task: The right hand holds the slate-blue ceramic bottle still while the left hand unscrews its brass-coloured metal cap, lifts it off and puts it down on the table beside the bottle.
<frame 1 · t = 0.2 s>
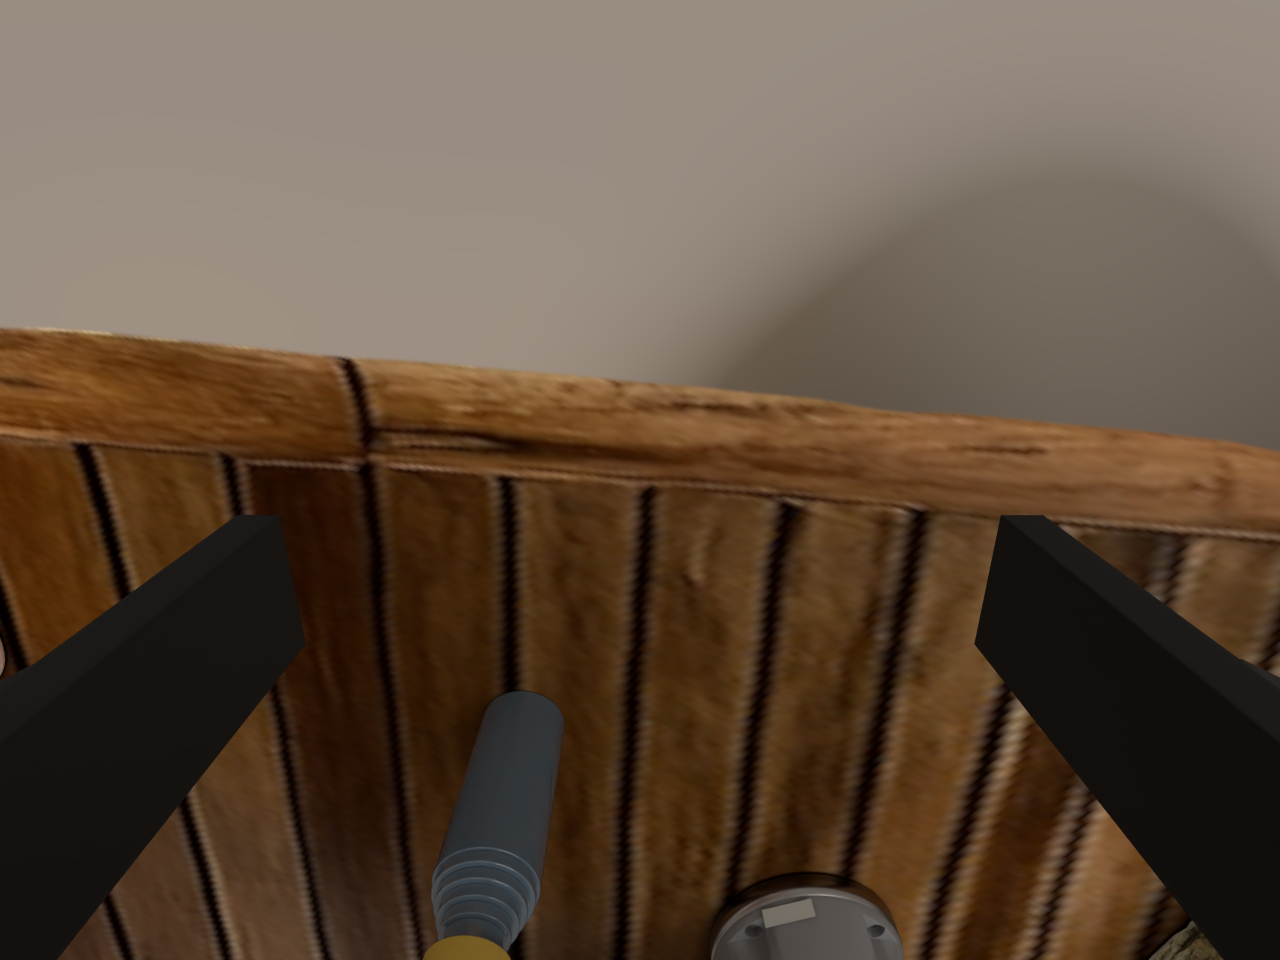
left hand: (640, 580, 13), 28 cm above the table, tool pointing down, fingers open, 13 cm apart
fossil: (1202, 945, 57), on the table
bottle: (523, 724, 49), on the table
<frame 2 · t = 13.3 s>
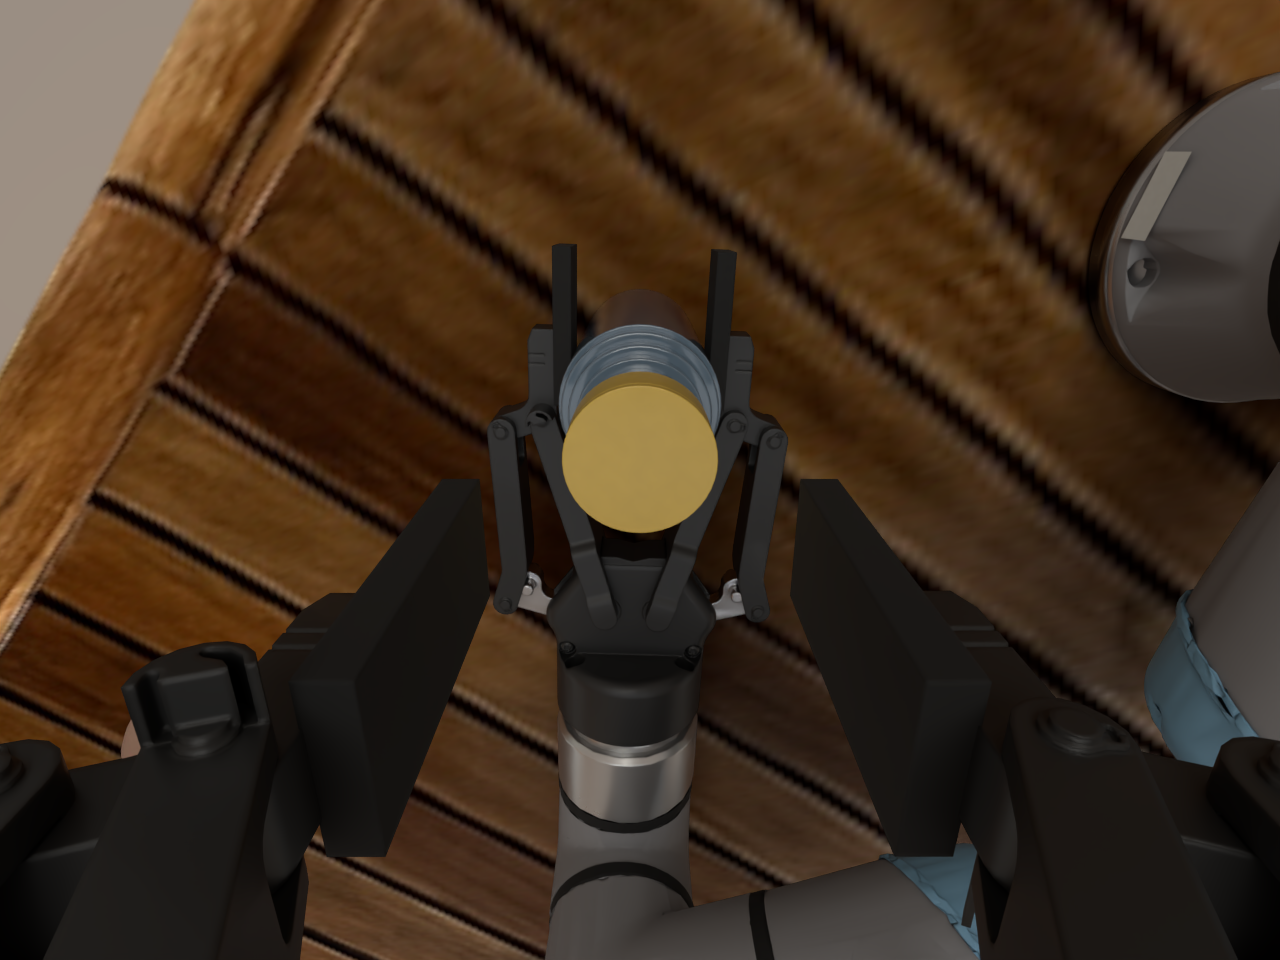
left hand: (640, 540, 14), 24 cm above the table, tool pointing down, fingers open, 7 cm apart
right hand: (644, 248, 28), fingers closed on bottle, 6 cm apart
bottle: (639, 345, 36), on the table, touching right hand
cap: (640, 459, 19), point 18 cm above the table, screwed on, not yet turned
anatomical model: (214, 771, 47), on the table
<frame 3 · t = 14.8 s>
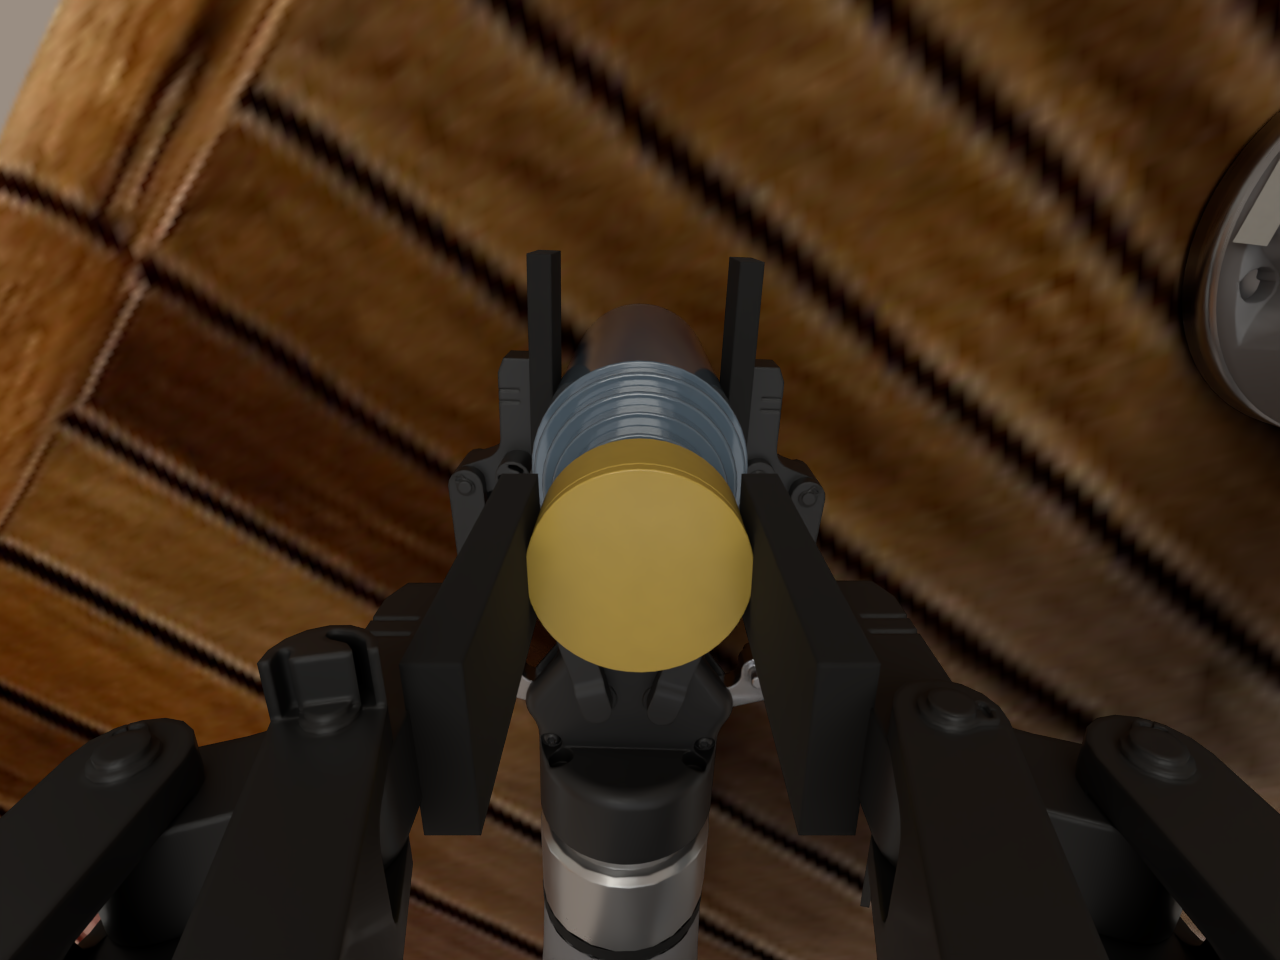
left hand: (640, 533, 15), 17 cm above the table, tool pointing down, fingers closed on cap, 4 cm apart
right hand: (645, 257, 22), fingers closed on bottle, 6 cm apart
bottle: (639, 371, 30), on the table, touching right hand
cap: (639, 569, 13), point 18 cm above the table, screwed on, not yet turned, touching left hand
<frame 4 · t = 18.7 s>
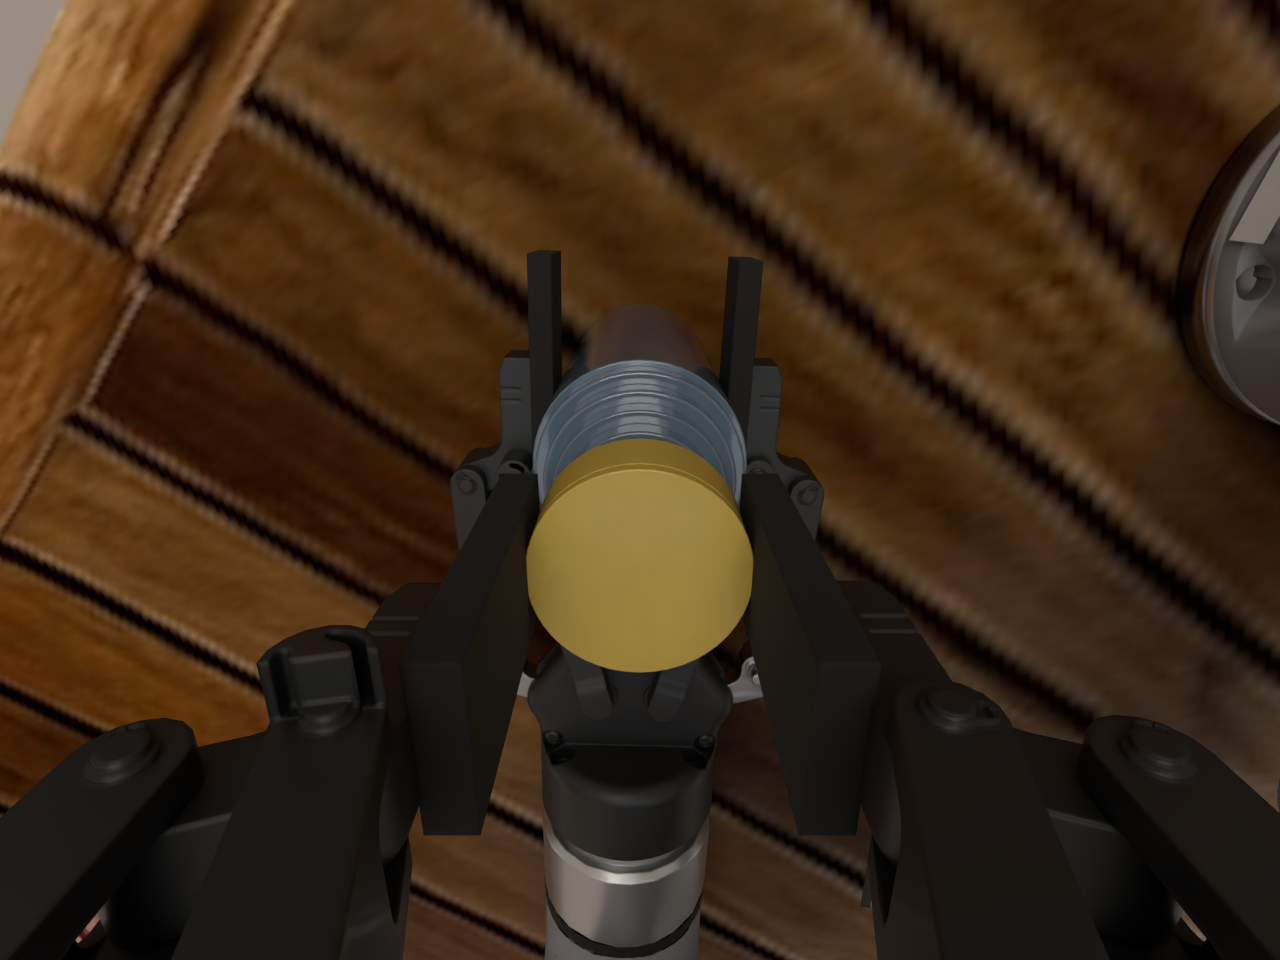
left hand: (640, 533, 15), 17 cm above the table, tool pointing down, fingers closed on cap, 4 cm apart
right hand: (644, 256, 22), fingers closed on bottle, 6 cm apart
bottle: (639, 370, 30), on the table, touching right hand
cap: (639, 569, 13), point 19 cm above the table, turned 142° so far, risen 0.2 cm, still on its thread, touching left hand
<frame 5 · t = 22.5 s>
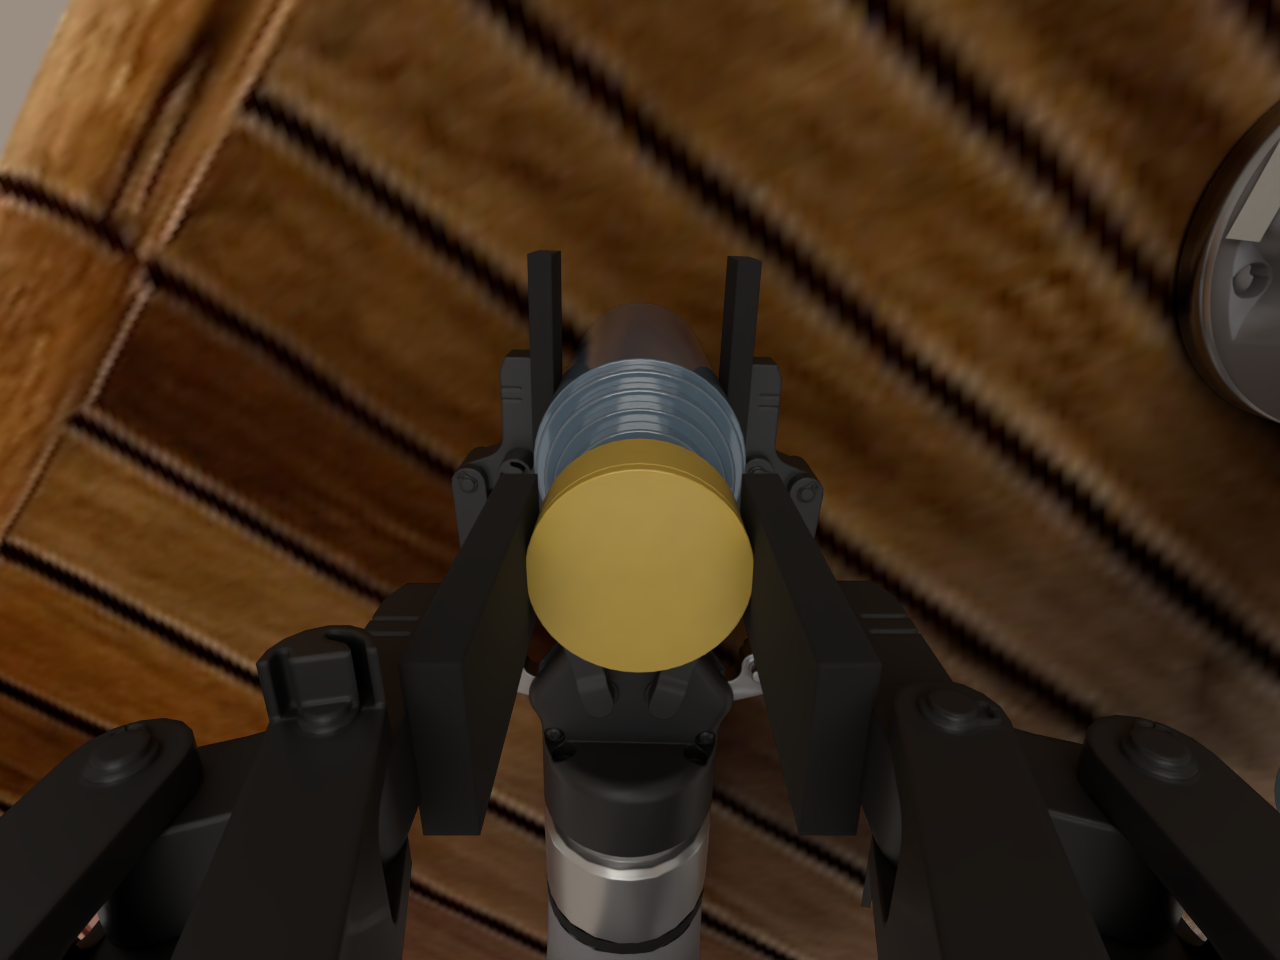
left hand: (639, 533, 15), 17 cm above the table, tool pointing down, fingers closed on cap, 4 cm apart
right hand: (644, 256, 23), fingers closed on bottle, 6 cm apart
bottle: (639, 369, 31), on the table, touching right hand
cap: (639, 569, 13), point 19 cm above the table, turned 283° so far, risen 0.3 cm, still on its thread, touching left hand
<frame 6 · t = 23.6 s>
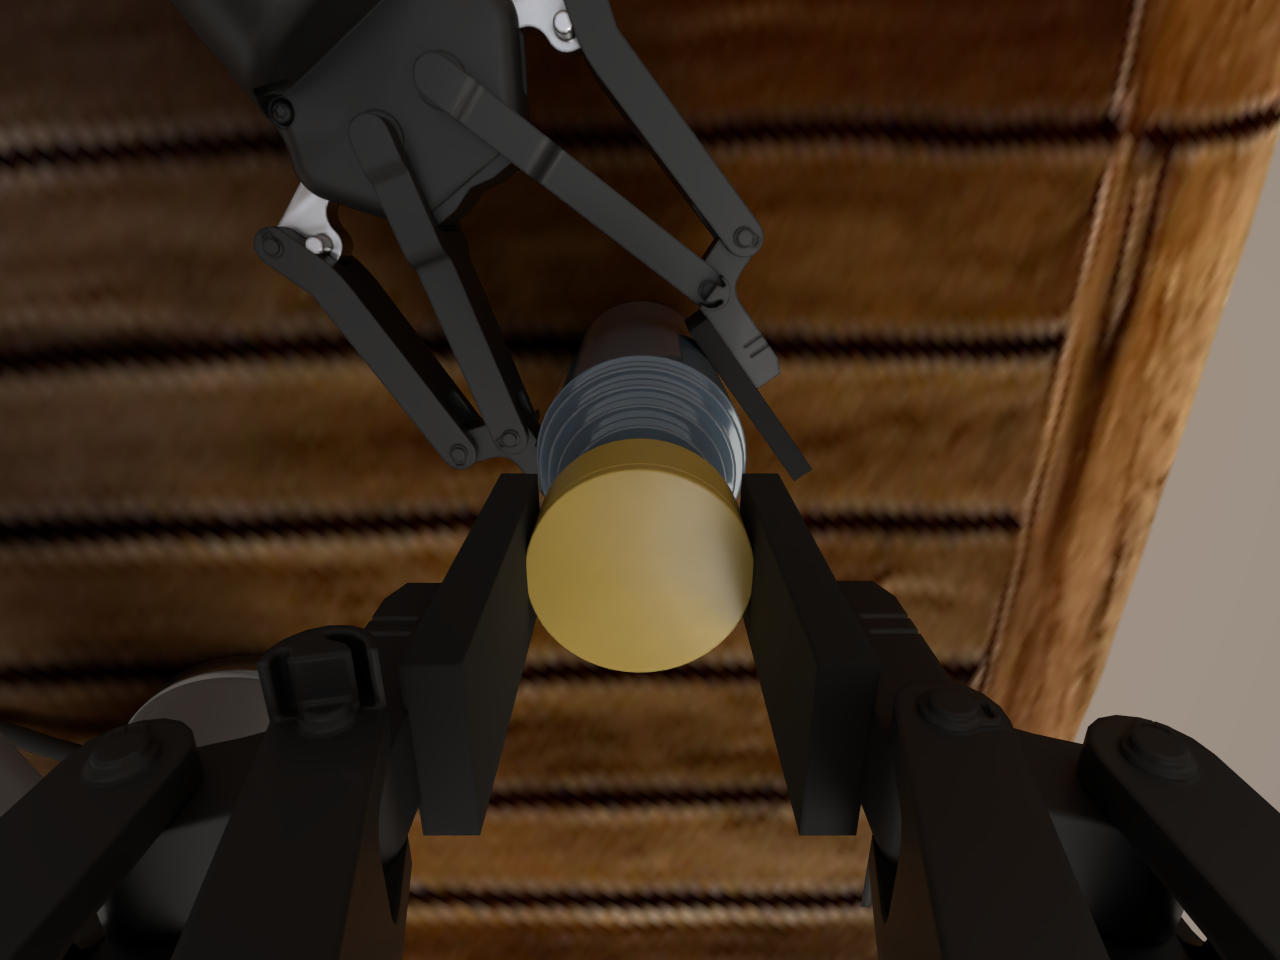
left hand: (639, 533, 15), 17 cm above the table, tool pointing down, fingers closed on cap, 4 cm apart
right hand: (721, 509, 26), fingers closed on bottle, 6 cm apart
bottle: (641, 367, 31), on the table, touching right hand
cap: (639, 569, 13), point 19 cm above the table, off its thread, touching left hand
when the left hand's fingers open (1 cm above the table, at t = 29.4 s): cap drops 1 cm, point 2 cm above the table.
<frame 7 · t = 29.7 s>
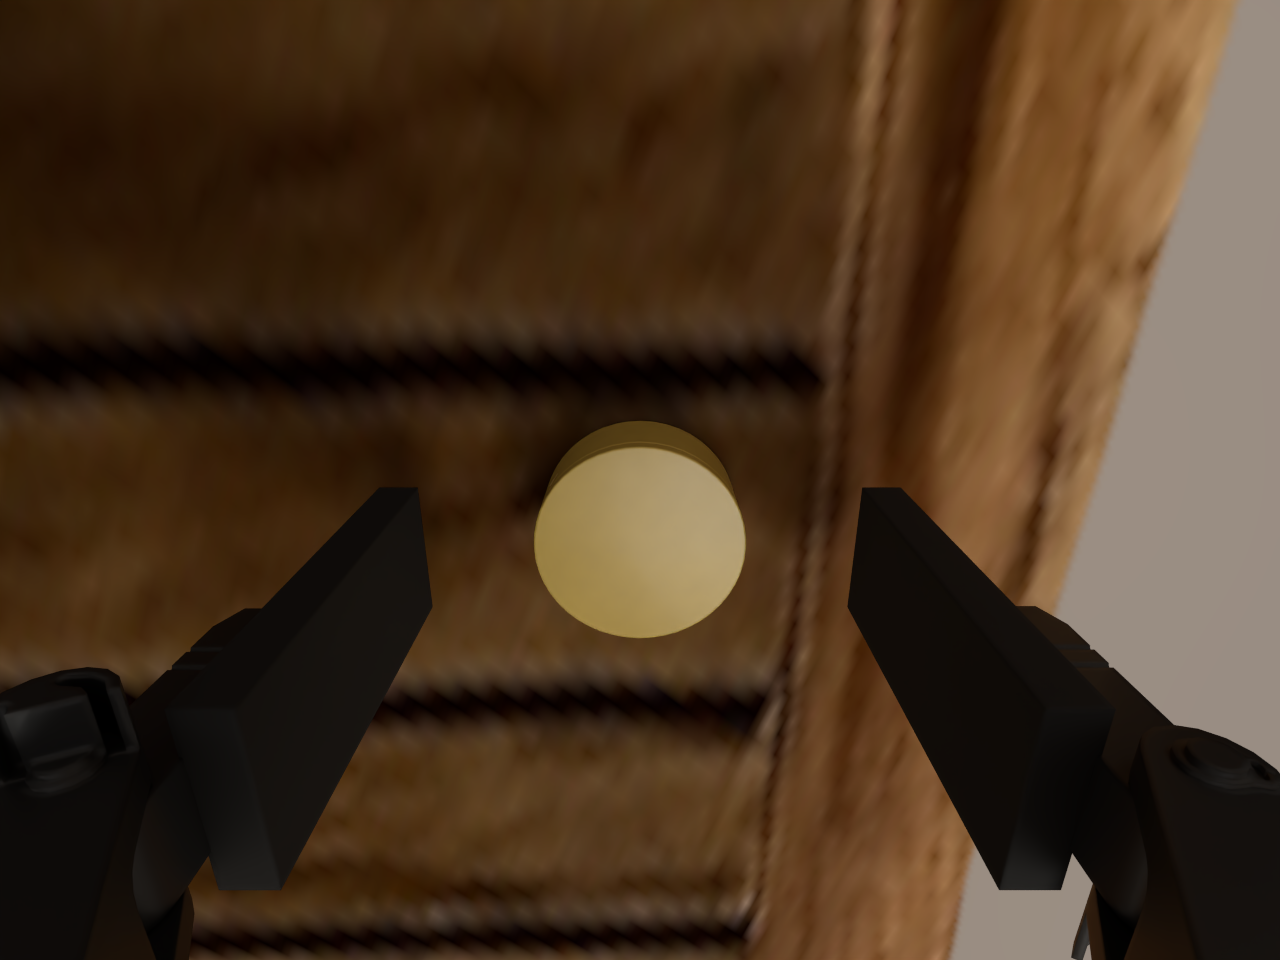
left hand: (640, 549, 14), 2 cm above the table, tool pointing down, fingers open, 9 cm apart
cap: (639, 541, 14), point 2 cm above the table, off its thread
when the right hand's fingers open (7 cm above the table, at t = 30.6 s): bottle stays where it is, on the table.
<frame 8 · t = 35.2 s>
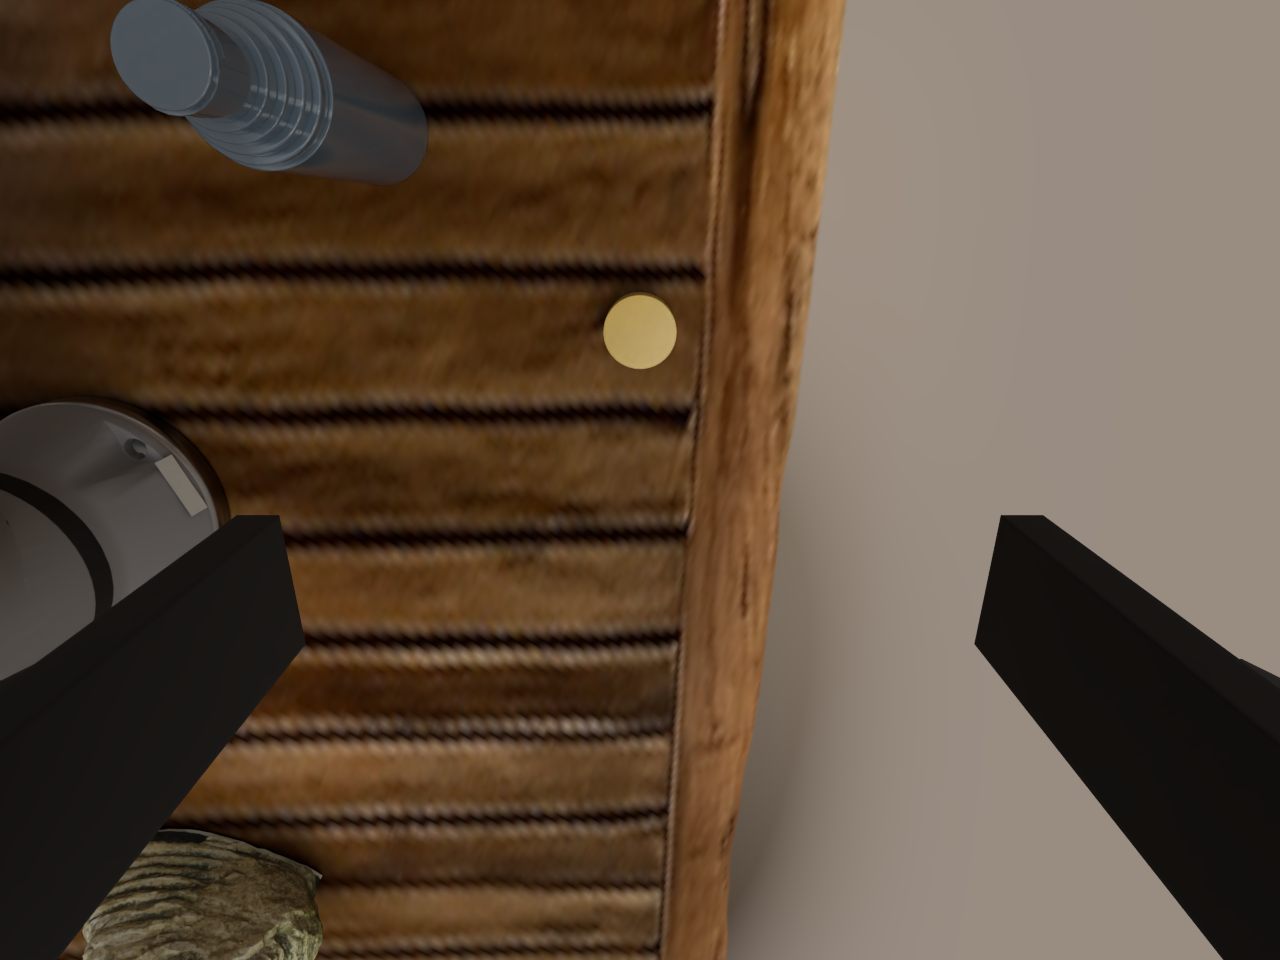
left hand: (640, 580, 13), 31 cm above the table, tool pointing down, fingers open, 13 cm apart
fossil: (236, 866, 58), on the table
bottle: (375, 128, 38), on the table
cap: (639, 331, 41), point 2 cm above the table, off its thread
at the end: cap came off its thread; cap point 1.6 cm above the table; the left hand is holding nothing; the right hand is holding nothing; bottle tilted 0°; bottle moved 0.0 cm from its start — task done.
